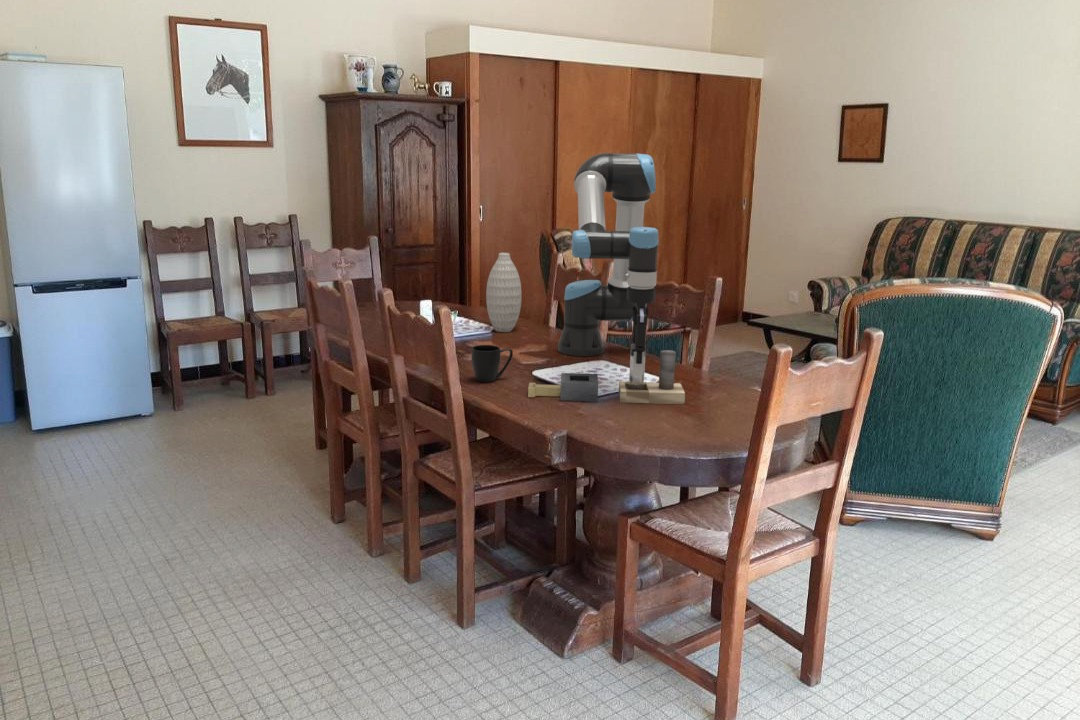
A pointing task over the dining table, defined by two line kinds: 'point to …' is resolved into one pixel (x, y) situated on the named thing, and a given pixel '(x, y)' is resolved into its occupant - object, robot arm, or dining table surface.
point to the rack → (657, 386)
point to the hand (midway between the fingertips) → (637, 371)
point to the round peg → (635, 380)
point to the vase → (503, 294)
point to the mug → (488, 362)
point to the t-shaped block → (543, 390)
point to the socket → (579, 387)
